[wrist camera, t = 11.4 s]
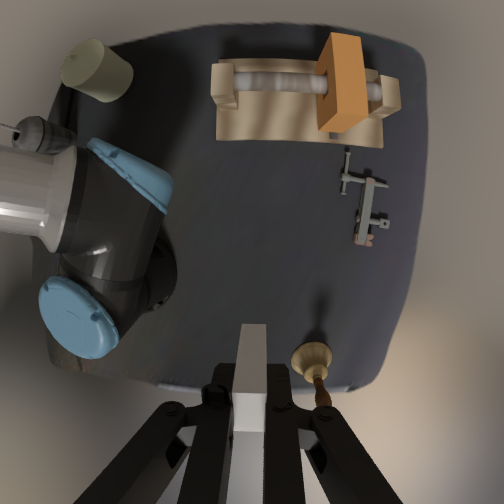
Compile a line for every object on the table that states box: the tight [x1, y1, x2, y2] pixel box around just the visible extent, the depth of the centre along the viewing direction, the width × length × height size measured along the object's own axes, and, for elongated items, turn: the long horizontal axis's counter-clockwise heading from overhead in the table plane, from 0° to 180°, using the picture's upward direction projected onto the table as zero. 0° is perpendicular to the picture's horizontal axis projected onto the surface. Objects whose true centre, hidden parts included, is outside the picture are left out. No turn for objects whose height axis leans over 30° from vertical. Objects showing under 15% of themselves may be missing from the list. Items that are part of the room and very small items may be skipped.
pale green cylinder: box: [61, 39, 133, 102], centre depth 35 cm, size 9×9×12 cm
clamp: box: [340, 152, 390, 246], centre depth 44 cm, size 15×2×10 cm
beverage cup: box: [0, 116, 77, 154], centre depth 34 cm, size 7×7×20 cm
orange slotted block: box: [316, 32, 369, 133], centre depth 33 cm, size 4×12×12 cm, turn 0°
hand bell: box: [291, 342, 332, 407], centre depth 44 cm, size 8×8×16 cm
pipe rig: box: [211, 58, 401, 148], centre depth 36 cm, size 28×15×10 cm, turn 90°
